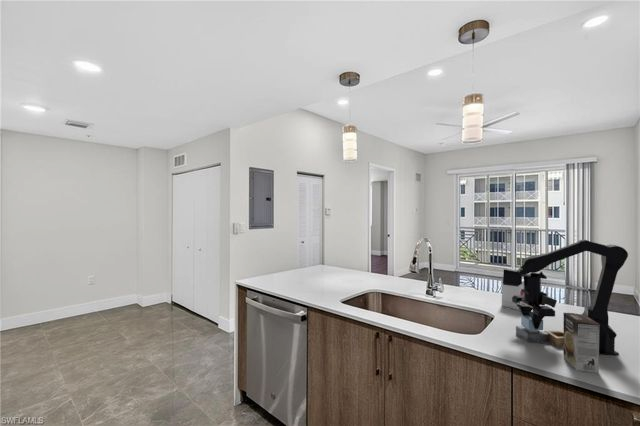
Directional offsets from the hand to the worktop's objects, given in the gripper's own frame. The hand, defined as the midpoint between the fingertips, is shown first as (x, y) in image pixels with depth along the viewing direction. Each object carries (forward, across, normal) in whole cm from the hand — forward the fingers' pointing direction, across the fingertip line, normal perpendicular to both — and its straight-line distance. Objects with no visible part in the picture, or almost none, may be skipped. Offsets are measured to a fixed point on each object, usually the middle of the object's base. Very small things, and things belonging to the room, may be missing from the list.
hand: (532, 326), depth 123 cm
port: (+5, 0, 0) cm, 5 cm away
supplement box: (+5, +40, -15) cm, 43 cm away
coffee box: (+5, -21, -3) cm, 22 cm away
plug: (+4, 0, 0) cm, 4 cm away
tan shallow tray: (+5, -4, -8) cm, 10 cm away
